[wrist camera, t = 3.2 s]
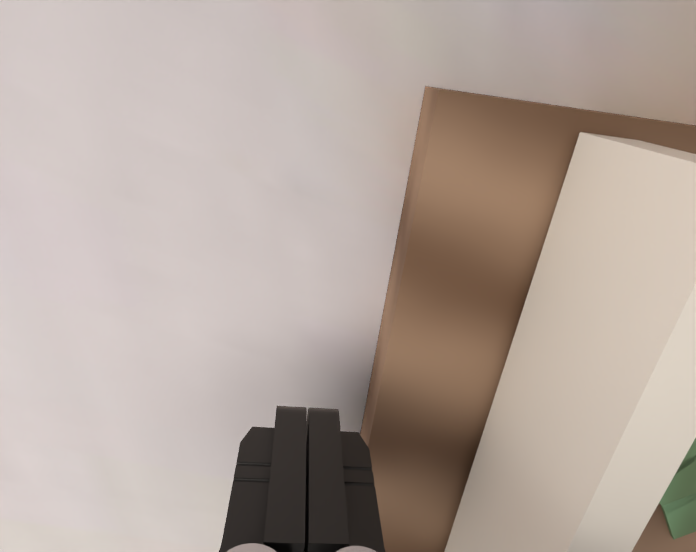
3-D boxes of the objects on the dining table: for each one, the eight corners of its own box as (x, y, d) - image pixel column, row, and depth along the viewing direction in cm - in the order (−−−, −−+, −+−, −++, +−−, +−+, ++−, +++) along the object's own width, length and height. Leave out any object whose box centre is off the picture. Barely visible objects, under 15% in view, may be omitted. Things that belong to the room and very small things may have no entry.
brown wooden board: (425, 86, 13) (441, 90, 11) (921, 158, 15) (992, 169, 13) (324, 623, 23) (325, 664, 21) (632, 624, 24) (653, 662, 23)
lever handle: (493, 653, 21) (542, 812, 17) (362, 654, 21) (377, 820, 16) (715, 151, 12) (950, 203, 8) (496, 120, 12) (616, 159, 7)
